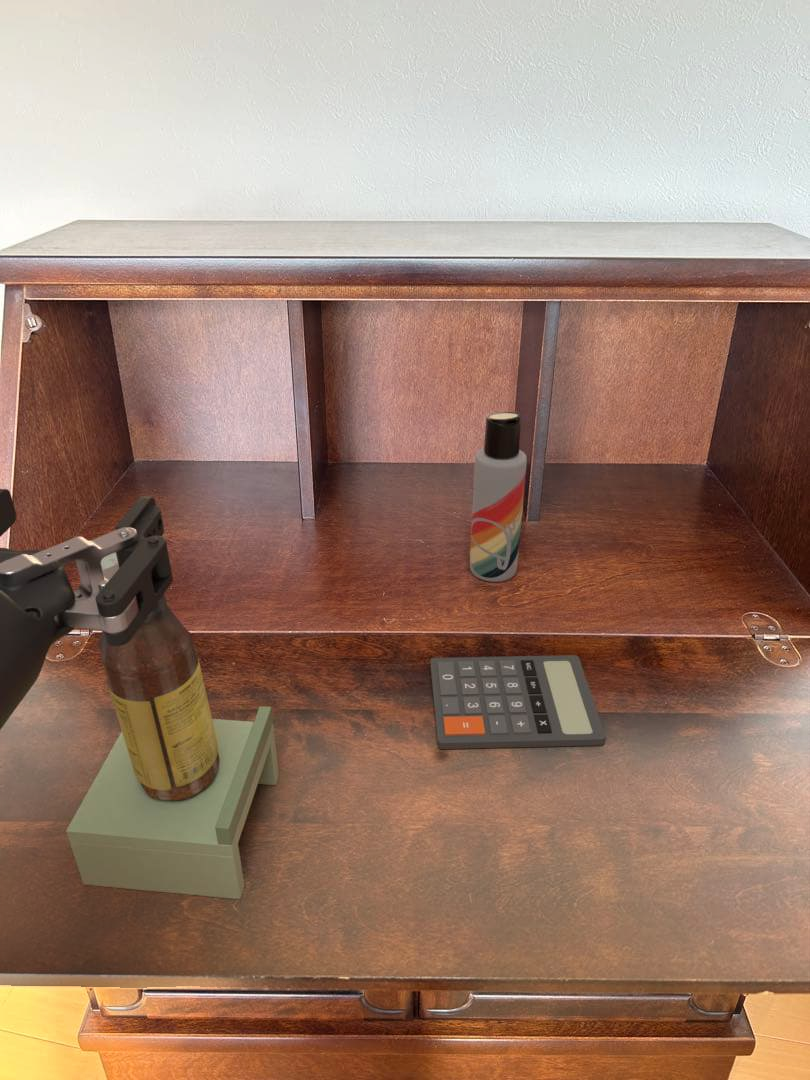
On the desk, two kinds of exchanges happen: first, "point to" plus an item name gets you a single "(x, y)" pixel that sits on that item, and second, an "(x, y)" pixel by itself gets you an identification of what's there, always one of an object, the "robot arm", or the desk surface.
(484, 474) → the lotion bottle
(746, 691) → the desk surface
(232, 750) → the shelf
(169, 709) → the sauce bottle
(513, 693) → the calculator
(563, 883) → the desk surface
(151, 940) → the desk surface
